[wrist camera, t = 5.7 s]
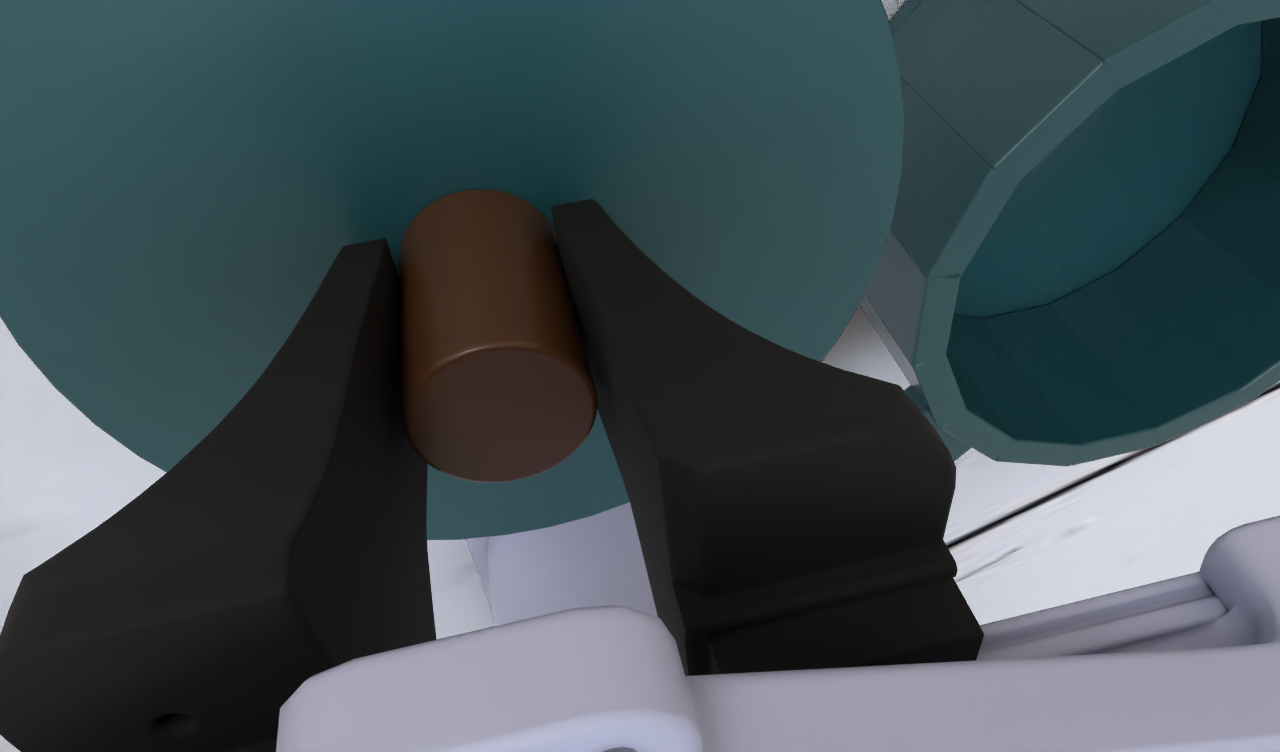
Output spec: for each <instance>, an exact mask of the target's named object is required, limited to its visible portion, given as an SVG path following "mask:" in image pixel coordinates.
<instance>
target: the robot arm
mask: <svg viewBox="0 0 1280 752" xmlns="http://www.w3.org/2000/svg"><path fill="white" fill-rule="evenodd" d="M551 209H552V215H553V220H554V226H555V231H556V237H557V242H558V248H559V252H560V255H561V259H562V263H563V267H564V271H565V275H566V279H567V283H568V287H569V290H570V293H571V296H572V299H573V303H574V307H575V311H576V314H577V318H578V322H579V326H580V330H581V334H582V338H583V342H584V346H585V350H586V354H587V357H588V361H589V365H590V369H591V373H592V377H593V381H594V385H595V389H596V393H597V400H598V407H597V409H598V412H599V415H600V418H601V420H602V423H603V426H604V429H605V431H606V434H607V437H608V440H609V442H610V445H611V448H612V451H613V454H614V456H615V459H616V462H617V465H618V467H619V470H620V473H621V476H622V478H623V482H624V485H625V488H626V491H627V495H628V498H629V501H630V502H629V503H627V504H624V505H621V506H618V507H615V508H613V509H610V510H607V511H604V512H601V513H599V514H596V515H593V516H590V517H586V518H582V519H579V520H575V521H571V522H567V523H564V524H560V525H556V526H552V527H548V528H543V529H537V530H532V531H526V532H520V533H515V534H509V535H502V536H492V537H481V538H471V539H466V540H467V543H468V546H469V549H470V551H471V554H472V557H473V560H474V562H475V565H476V568H477V570H478V573H479V576H480V579H481V581H482V584H483V587H484V590H485V592H486V595H487V598H488V601H489V603H490V606H491V609H492V614H493V624H494V627H489V628H485V629H481V630H477V631H472V632H468V633H464V634H459V635H455V636H451V637H446V638H442V639H438V640H436V632H435V623H434V614H433V604H432V594H431V583H430V573H429V562H428V552H427V525H426V519H427V471H428V463H427V462H425V461H424V460H423V459H422V458H421V457H420V456H419V455H418V454H417V452H416V451H415V450H414V448H413V447H412V446H411V444H410V442H409V440H408V438H407V436H406V434H405V430H404V427H403V416H402V371H401V326H400V281H399V276H398V273H397V270H396V267H395V264H394V261H393V258H392V255H391V252H390V249H389V246H388V243H387V240H386V238H382V239H377V240H372V241H366V242H361V243H356V244H351V245H345V246H343V247H342V249H341V250H340V252H339V253H338V255H337V256H336V258H335V260H334V261H333V263H332V265H331V267H330V269H329V270H328V272H327V274H326V276H325V277H324V279H323V281H322V283H321V284H320V286H319V288H318V290H317V291H316V293H315V295H314V296H313V298H312V300H311V301H310V303H309V305H308V306H307V308H306V310H305V311H304V313H303V314H302V316H301V318H300V319H299V321H298V322H297V324H296V326H295V327H294V329H293V330H292V332H291V334H290V335H289V337H288V338H287V340H286V341H285V343H284V344H283V345H282V347H281V348H280V350H279V351H278V352H277V354H276V355H275V357H274V358H273V359H272V361H271V362H270V364H269V365H268V366H267V368H266V369H265V370H264V372H263V373H262V375H261V376H260V377H259V379H258V380H257V381H256V382H255V384H254V385H253V386H252V387H251V388H250V390H249V391H248V392H247V393H246V394H245V396H244V397H243V398H242V399H241V400H240V401H239V402H238V403H237V404H236V406H235V407H234V408H233V409H232V410H231V411H230V412H229V413H228V414H227V415H226V417H225V418H224V419H223V420H222V421H221V422H220V423H219V424H218V425H217V426H216V427H215V428H214V429H213V430H212V431H211V432H210V433H209V434H208V435H207V436H206V437H205V438H204V439H203V440H202V441H200V442H199V443H198V444H197V445H196V446H195V447H194V448H193V449H192V450H191V451H190V452H189V453H188V454H187V455H186V456H184V457H183V458H182V459H181V460H180V461H179V462H178V463H177V464H176V465H175V466H174V467H173V468H172V469H171V470H169V471H168V472H167V473H166V474H165V475H164V476H162V477H161V478H160V479H159V480H158V481H156V482H155V483H154V484H153V485H151V486H150V487H149V488H148V489H147V490H145V491H144V492H143V493H142V494H141V495H139V496H138V497H137V498H135V499H134V500H133V501H131V502H130V503H129V504H127V505H126V506H125V507H124V508H122V509H121V510H120V511H118V512H117V513H116V514H114V515H113V516H112V517H110V518H109V519H108V520H106V521H105V522H103V523H102V524H101V525H99V526H98V527H97V528H95V529H94V530H92V531H91V532H89V533H88V534H86V535H85V536H83V537H82V538H80V539H79V540H77V541H76V542H74V543H73V544H71V545H70V546H68V547H67V548H65V549H64V550H62V551H61V552H59V553H58V554H56V555H55V556H53V557H52V558H50V559H49V560H47V561H46V562H44V563H43V564H41V565H39V566H38V567H36V568H35V569H33V570H31V571H30V572H28V573H27V574H25V575H24V576H23V578H22V580H21V583H20V585H19V587H18V590H17V592H16V594H15V597H14V599H13V602H12V604H11V606H10V609H9V611H8V614H7V617H6V620H5V623H4V626H3V629H2V632H1V635H0V735H1V736H3V737H4V738H5V739H6V740H7V741H8V742H9V743H11V744H12V745H13V746H15V747H16V748H17V749H18V750H20V751H21V752H1280V516H1277V517H1272V518H1268V519H1264V520H1260V521H1256V522H1252V523H1248V524H1244V525H1241V526H1239V527H1236V528H1233V529H1231V530H1229V531H1228V532H1226V533H1225V534H1223V535H1222V536H1220V537H1219V538H1217V540H1216V541H1215V542H1214V543H1213V544H1212V545H1211V546H1210V547H1209V549H1208V551H1207V553H1206V554H1205V557H1204V559H1203V562H1202V565H1201V568H1200V571H1199V572H1196V573H1192V574H1188V575H1184V576H1180V577H1176V578H1172V579H1168V580H1164V581H1160V582H1155V583H1151V584H1147V585H1143V586H1139V587H1135V588H1131V589H1127V590H1123V591H1119V592H1115V593H1111V594H1106V595H1102V596H1098V597H1094V598H1090V599H1086V600H1082V601H1078V602H1074V603H1070V604H1066V605H1061V606H1057V607H1053V608H1049V609H1045V610H1041V611H1037V612H1033V613H1029V614H1025V615H1021V616H1017V617H1012V618H1008V619H1004V620H1000V621H996V622H992V623H988V624H984V625H979V624H978V622H977V620H976V618H975V616H974V615H973V613H972V611H971V609H970V607H969V606H968V604H967V602H966V600H965V599H964V597H963V595H962V593H961V591H960V590H959V588H958V586H957V584H956V582H955V581H954V579H953V577H956V574H957V566H956V562H955V560H954V558H953V557H952V555H951V553H950V551H949V550H948V548H947V546H946V544H945V543H944V541H943V537H944V533H945V528H946V524H947V520H948V516H949V511H950V507H951V503H952V499H953V495H954V490H955V482H956V466H955V464H954V461H953V459H952V457H951V454H950V452H949V450H948V448H947V447H946V445H945V444H944V442H943V440H942V439H941V437H940V436H939V434H938V433H937V431H936V430H935V428H934V427H933V425H932V424H931V423H930V422H929V420H928V419H927V418H926V417H925V415H924V414H923V413H922V411H921V410H920V409H919V408H918V407H917V406H916V404H915V403H914V402H913V401H912V400H911V399H910V398H909V396H908V395H907V394H906V393H905V392H904V391H903V389H902V388H901V387H900V386H899V385H896V384H892V383H889V382H885V381H881V380H878V379H874V378H871V377H867V376H863V375H860V374H856V373H853V372H849V371H845V370H842V369H839V368H836V367H833V366H830V365H827V364H825V363H822V362H819V361H817V360H814V359H811V358H809V357H806V356H803V355H801V354H798V353H796V352H794V351H791V350H789V349H787V348H784V347H782V346H780V345H777V344H775V343H773V342H771V341H769V340H767V339H765V338H763V337H761V336H759V335H757V334H755V333H753V332H751V331H749V330H747V329H745V328H744V327H742V326H740V325H738V324H736V323H734V322H733V321H731V320H729V319H728V318H726V317H725V316H723V315H722V314H720V313H718V312H717V311H715V310H714V309H712V308H711V307H709V306H708V305H707V304H705V303H704V302H702V301H701V300H700V299H698V298H697V297H695V296H694V295H693V294H691V293H690V292H689V291H688V290H686V289H685V288H684V287H683V286H681V285H680V284H679V283H677V282H676V281H675V280H674V279H672V278H671V277H670V276H669V275H668V274H667V273H665V272H664V271H663V270H662V269H661V268H660V267H659V266H658V265H656V264H655V263H654V262H653V261H652V260H651V259H650V258H649V257H648V256H647V255H646V254H645V253H643V252H642V251H641V250H640V249H639V248H638V247H637V246H636V245H635V244H634V243H633V242H632V241H631V240H630V239H629V238H628V237H627V236H626V234H625V233H624V232H623V231H622V230H621V229H620V228H619V227H618V226H617V225H616V224H615V222H614V221H613V220H612V219H611V218H610V217H609V215H608V214H607V213H606V212H605V210H604V209H603V208H602V206H601V205H600V204H599V203H597V202H596V201H595V200H593V199H588V200H582V201H577V202H572V203H566V204H561V205H556V206H551Z"/></svg>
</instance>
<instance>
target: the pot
mask: <svg viewBox="0 0 1280 752" xmlns="http://www.w3.org/2000/svg"><path fill="white" fill-rule="evenodd" d="M889 26H890V30H891V34H892V38H893V43H894V47H895V51H896V55H897V60H898V64H899V68H900V77H901V89H902V101H903V112H904V140H903V158H902V174H901V180H900V185H899V190H898V195H897V200H896V205H895V210H894V216H893V221H892V224H891V227H890V230H889V233H888V236H887V239H886V242H885V245H884V248H883V251H882V254H881V257H880V260H879V263H878V266H877V268H876V270H875V272H874V275H873V277H872V279H871V281H870V283H869V285H868V287H867V289H866V291H865V293H864V296H863V298H862V300H861V302H860V304H859V305H860V306H861V308H862V309H863V311H864V313H865V314H866V316H867V317H868V319H869V320H870V322H871V324H872V325H873V327H874V328H875V330H876V331H877V333H878V334H879V336H880V338H881V339H882V341H883V342H884V344H885V345H886V347H887V348H888V350H889V352H890V353H891V355H892V356H893V358H894V359H895V361H896V363H897V364H898V366H899V367H900V369H901V370H902V372H903V373H904V375H905V377H906V378H907V380H908V381H909V383H910V384H911V385H910V386H909V387H908V388H907V389H906V390H905V391H904V392H905V393H906V394H907V395H908V396H909V398H910V399H911V400H912V401H913V402H914V403H915V404H916V406H917V407H918V408H919V409H920V410H921V411H922V413H923V414H924V415H925V417H926V418H927V419H928V420H929V422H930V423H931V424H932V425H933V427H934V428H935V430H936V431H937V433H938V434H939V436H940V437H941V439H942V440H943V442H944V444H945V445H946V447H947V448H948V450H949V452H950V454H951V457H952V459H953V461H955V460H957V459H958V458H959V457H960V456H962V455H963V454H964V453H965V452H967V451H968V450H969V449H970V448H974V449H975V450H977V451H979V452H981V453H982V454H984V455H986V456H987V457H989V458H991V459H992V460H995V461H999V462H1013V463H1027V464H1042V465H1056V466H1070V465H1076V464H1081V463H1085V462H1089V461H1094V460H1098V459H1102V458H1107V457H1111V456H1115V455H1120V454H1124V453H1128V452H1133V451H1137V450H1141V449H1146V448H1150V447H1154V446H1155V445H1159V444H1162V443H1164V442H1166V441H1168V440H1170V439H1172V438H1174V437H1177V436H1179V435H1181V434H1183V433H1185V432H1187V431H1189V430H1191V429H1194V428H1196V427H1198V426H1200V425H1202V424H1204V423H1206V422H1209V421H1211V420H1213V419H1215V418H1217V417H1219V416H1221V415H1223V414H1226V413H1228V412H1230V411H1232V410H1234V409H1236V408H1238V407H1241V406H1243V405H1244V404H1246V402H1250V401H1252V400H1253V399H1254V398H1256V397H1257V396H1259V395H1260V394H1261V393H1263V392H1264V391H1266V390H1267V389H1268V388H1270V387H1271V386H1273V385H1274V384H1275V383H1277V382H1278V381H1280V0H907V1H906V3H905V4H904V5H903V6H902V7H901V9H900V10H899V11H898V12H897V14H896V15H895V16H894V17H893V18H892V20H891V21H890V22H889Z"/></svg>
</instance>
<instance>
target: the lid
mask: <svg viewBox="0 0 1280 752" xmlns="http://www.w3.org/2000/svg"><path fill="white" fill-rule="evenodd" d="M903 140H904V112H903V101H902V89H901V77H900V68H899V64H898V60H897V55H896V51H895V47H894V43H893V38H892V34H891V30H890V26H889V21H888V17H887V14H886V11H885V9H884V6H883V4H882V1H881V0H0V317H1V318H2V320H3V321H4V323H5V324H6V326H7V328H8V329H9V331H10V332H11V334H12V335H13V337H14V338H15V340H16V342H17V343H18V345H19V346H20V347H21V348H22V349H23V351H24V352H25V353H26V354H27V355H28V357H29V358H30V359H31V360H32V361H33V362H34V364H35V365H36V366H37V367H38V368H39V369H40V371H41V372H42V373H43V374H44V375H45V376H46V378H47V379H48V380H49V381H50V382H51V384H52V385H53V386H54V387H55V388H56V389H57V390H58V391H59V392H60V393H61V394H62V395H64V396H65V397H66V398H67V399H68V400H69V401H70V402H71V403H72V404H73V405H74V406H76V407H77V408H78V409H79V410H80V411H81V412H82V413H83V414H84V415H85V416H86V417H87V418H89V419H90V420H91V421H92V422H93V423H94V424H95V425H96V426H98V427H99V428H101V429H102V430H103V431H105V432H106V433H107V434H109V435H110V436H112V437H113V438H114V439H116V440H117V441H118V442H120V443H121V444H123V445H124V446H125V447H127V448H128V449H129V450H131V451H132V452H134V453H135V454H136V455H138V456H139V457H141V458H143V459H144V460H146V461H148V462H150V463H151V464H153V465H155V466H157V467H158V468H160V469H162V470H164V471H165V472H168V471H169V470H171V469H172V468H173V467H174V466H175V465H176V464H177V463H178V462H179V461H180V460H181V459H182V458H183V457H184V456H186V455H187V454H188V453H189V452H190V451H191V450H192V449H193V448H194V447H195V446H196V445H197V444H198V443H199V442H200V441H202V440H203V439H204V438H205V437H206V436H207V435H208V434H209V433H210V432H211V431H212V430H213V429H214V428H215V427H216V426H217V425H218V424H219V423H220V422H221V421H222V420H223V419H224V418H225V417H226V415H227V414H228V413H229V412H230V411H231V410H232V409H233V408H234V407H235V406H236V404H237V403H238V402H239V401H240V400H241V399H242V398H243V397H244V396H245V394H246V393H247V392H248V391H249V390H250V388H251V387H252V386H253V385H254V384H255V382H256V381H257V380H258V379H259V377H260V376H261V375H262V373H263V372H264V370H265V369H266V368H267V366H268V365H269V364H270V362H271V361H272V359H273V358H274V357H275V355H276V354H277V352H278V351H279V350H280V348H281V347H282V345H283V344H284V343H285V341H286V340H287V338H288V337H289V335H290V334H291V332H292V330H293V329H294V327H295V326H296V324H297V322H298V321H299V319H300V318H301V316H302V314H303V313H304V311H305V310H306V308H307V306H308V305H309V303H310V301H311V300H312V298H313V296H314V295H315V293H316V291H317V290H318V288H319V286H320V284H321V283H322V281H323V279H324V277H325V276H326V274H327V272H328V270H329V269H330V267H331V265H332V263H333V261H334V260H335V258H336V256H337V255H338V253H339V252H340V250H341V249H342V247H343V246H345V245H351V244H356V243H361V242H366V241H372V240H377V239H382V238H386V240H387V243H388V246H389V249H390V252H391V255H392V258H393V261H394V264H395V267H396V270H397V273H398V276H399V281H400V326H401V371H402V416H403V427H404V430H405V434H406V436H407V438H408V440H409V442H410V444H411V446H412V447H413V448H414V450H415V451H416V452H417V454H418V455H419V456H420V457H421V458H422V459H423V460H424V461H425V462H427V463H428V471H427V519H426V525H427V540H458V539H471V538H481V537H492V536H502V535H509V534H515V533H520V532H526V531H532V530H537V529H543V528H548V527H552V526H556V525H560V524H564V523H567V522H571V521H575V520H579V519H582V518H586V517H590V516H593V515H596V514H599V513H601V512H604V511H607V510H610V509H613V508H615V507H618V506H621V505H624V504H627V503H629V502H630V501H629V498H628V495H627V491H626V488H625V485H624V482H623V478H622V476H621V473H620V470H619V467H618V465H617V462H616V459H615V456H614V454H613V451H612V448H611V445H610V442H609V440H608V437H607V434H606V431H605V429H604V426H603V423H602V420H601V418H600V415H599V412H598V409H597V407H598V400H597V393H596V389H595V385H594V381H593V377H592V373H591V369H590V365H589V361H588V357H587V354H586V350H585V346H584V342H583V338H582V334H581V330H580V326H579V322H578V318H577V314H576V311H575V307H574V303H573V299H572V296H571V293H570V290H569V287H568V283H567V279H566V275H565V271H564V267H563V263H562V259H561V255H560V252H559V248H558V242H557V237H556V231H555V226H554V220H553V215H552V209H551V206H556V205H561V204H566V203H572V202H577V201H582V200H588V199H593V200H595V201H596V202H597V203H599V204H600V205H601V206H602V208H603V209H604V210H605V212H606V213H607V214H608V215H609V217H610V218H611V219H612V220H613V221H614V222H615V224H616V225H617V226H618V227H619V228H620V229H621V230H622V231H623V232H624V233H625V234H626V236H627V237H628V238H629V239H630V240H631V241H632V242H633V243H634V244H635V245H636V246H637V247H638V248H639V249H640V250H641V251H642V252H643V253H645V254H646V255H647V256H648V257H649V258H650V259H651V260H652V261H653V262H654V263H655V264H656V265H658V266H659V267H660V268H661V269H662V270H663V271H664V272H665V273H667V274H668V275H669V276H670V277H671V278H672V279H674V280H675V281H676V282H677V283H679V284H680V285H681V286H683V287H684V288H685V289H686V290H688V291H689V292H690V293H691V294H693V295H694V296H695V297H697V298H698V299H700V300H701V301H702V302H704V303H705V304H707V305H708V306H709V307H711V308H712V309H714V310H715V311H717V312H718V313H720V314H722V315H723V316H725V317H726V318H728V319H729V320H731V321H733V322H734V323H736V324H738V325H740V326H742V327H744V328H745V329H747V330H749V331H751V332H753V333H755V334H757V335H759V336H761V337H763V338H765V339H767V340H769V341H771V342H773V343H775V344H777V345H780V346H782V347H784V348H787V349H789V350H791V351H794V352H796V353H798V354H801V355H803V356H806V357H809V358H811V359H814V360H817V361H819V362H821V361H822V360H823V359H824V357H825V356H826V355H827V354H828V352H829V351H830V350H831V348H832V347H833V346H834V345H835V343H836V341H837V340H838V338H839V337H840V335H841V333H842V332H843V330H844V329H845V327H846V325H847V324H848V322H849V321H850V319H851V318H852V316H853V314H854V313H855V311H856V310H857V308H858V306H859V304H860V302H861V300H862V298H863V296H864V293H865V291H866V289H867V287H868V285H869V283H870V281H871V279H872V277H873V275H874V272H875V270H876V268H877V266H878V263H879V260H880V257H881V254H882V251H883V248H884V245H885V242H886V239H887V236H888V233H889V230H890V227H891V224H892V221H893V216H894V210H895V205H896V200H897V195H898V190H899V185H900V180H901V174H902V158H903Z"/></svg>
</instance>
